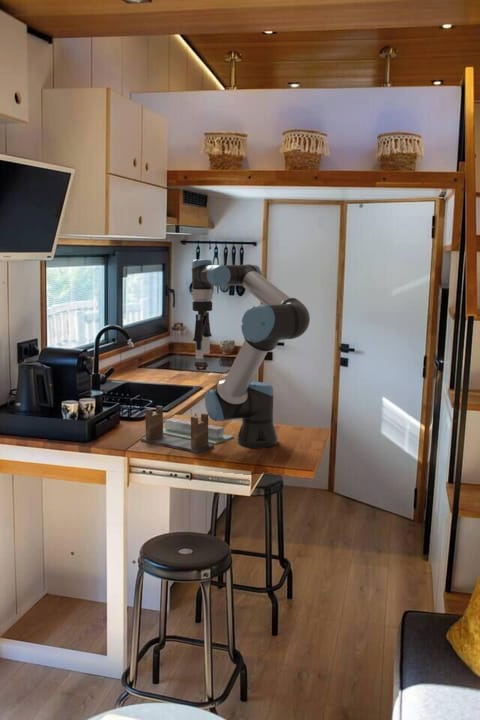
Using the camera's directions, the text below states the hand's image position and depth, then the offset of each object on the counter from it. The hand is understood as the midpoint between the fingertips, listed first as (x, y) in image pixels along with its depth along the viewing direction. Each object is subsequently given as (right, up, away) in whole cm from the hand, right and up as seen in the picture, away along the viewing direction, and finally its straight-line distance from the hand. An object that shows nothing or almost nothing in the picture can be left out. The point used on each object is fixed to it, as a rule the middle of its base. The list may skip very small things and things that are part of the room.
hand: (202, 356), depth 267 cm
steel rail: (-4, -30, +6) cm, 31 cm away
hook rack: (-9, -33, -7) cm, 35 cm away
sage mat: (-4, -31, +6) cm, 32 cm away
